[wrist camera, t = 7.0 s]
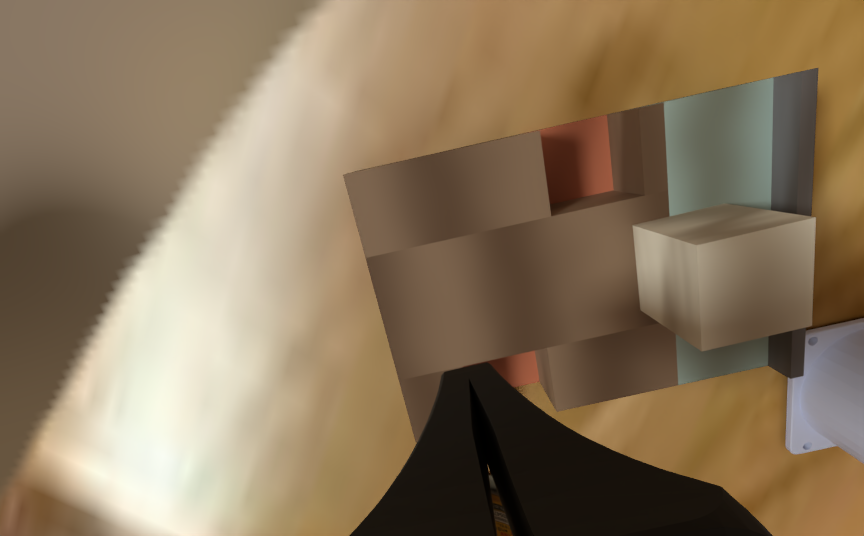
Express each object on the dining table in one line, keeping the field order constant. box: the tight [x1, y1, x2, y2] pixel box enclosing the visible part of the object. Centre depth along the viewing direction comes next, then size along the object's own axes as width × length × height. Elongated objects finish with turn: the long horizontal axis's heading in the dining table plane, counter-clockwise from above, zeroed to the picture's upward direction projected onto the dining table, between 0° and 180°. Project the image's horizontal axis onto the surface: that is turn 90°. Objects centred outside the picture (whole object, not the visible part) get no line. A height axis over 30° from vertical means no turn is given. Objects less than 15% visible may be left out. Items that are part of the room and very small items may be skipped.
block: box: [633, 203, 816, 351], centre depth 16 cm, size 4×4×4 cm
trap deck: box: [343, 68, 818, 442], centre depth 19 cm, size 18×13×4 cm
